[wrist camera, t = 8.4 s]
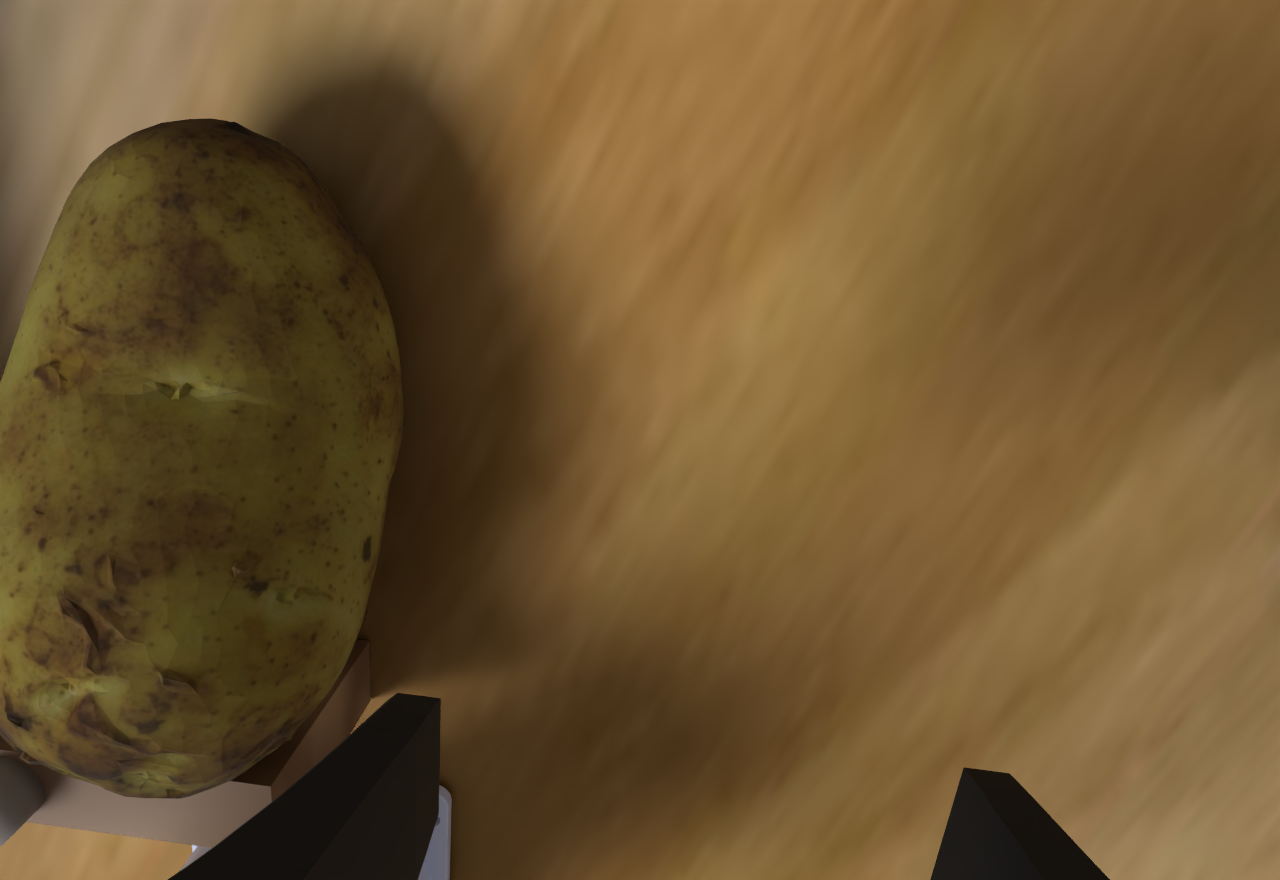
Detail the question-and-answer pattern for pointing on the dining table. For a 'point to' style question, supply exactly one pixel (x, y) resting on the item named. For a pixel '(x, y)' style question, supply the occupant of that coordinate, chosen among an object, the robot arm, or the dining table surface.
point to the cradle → (34, 793)
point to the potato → (190, 463)
